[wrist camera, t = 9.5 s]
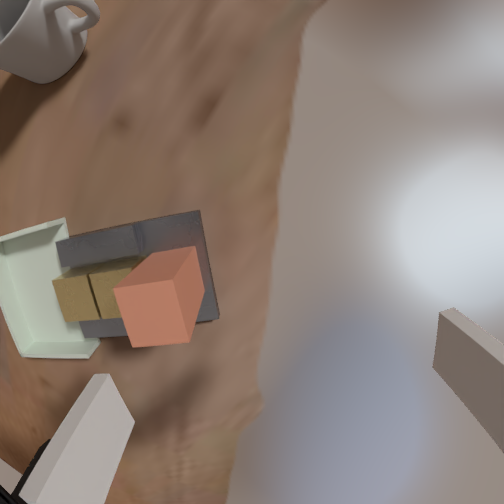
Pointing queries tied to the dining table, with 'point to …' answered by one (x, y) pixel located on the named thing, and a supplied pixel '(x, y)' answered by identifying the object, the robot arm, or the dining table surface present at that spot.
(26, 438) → the dining table surface
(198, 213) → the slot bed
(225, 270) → the dining table surface
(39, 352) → the tray
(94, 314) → the chip
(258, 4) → the dining table surface
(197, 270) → the salmon pink flat-faced block
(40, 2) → the mug
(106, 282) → the chip
